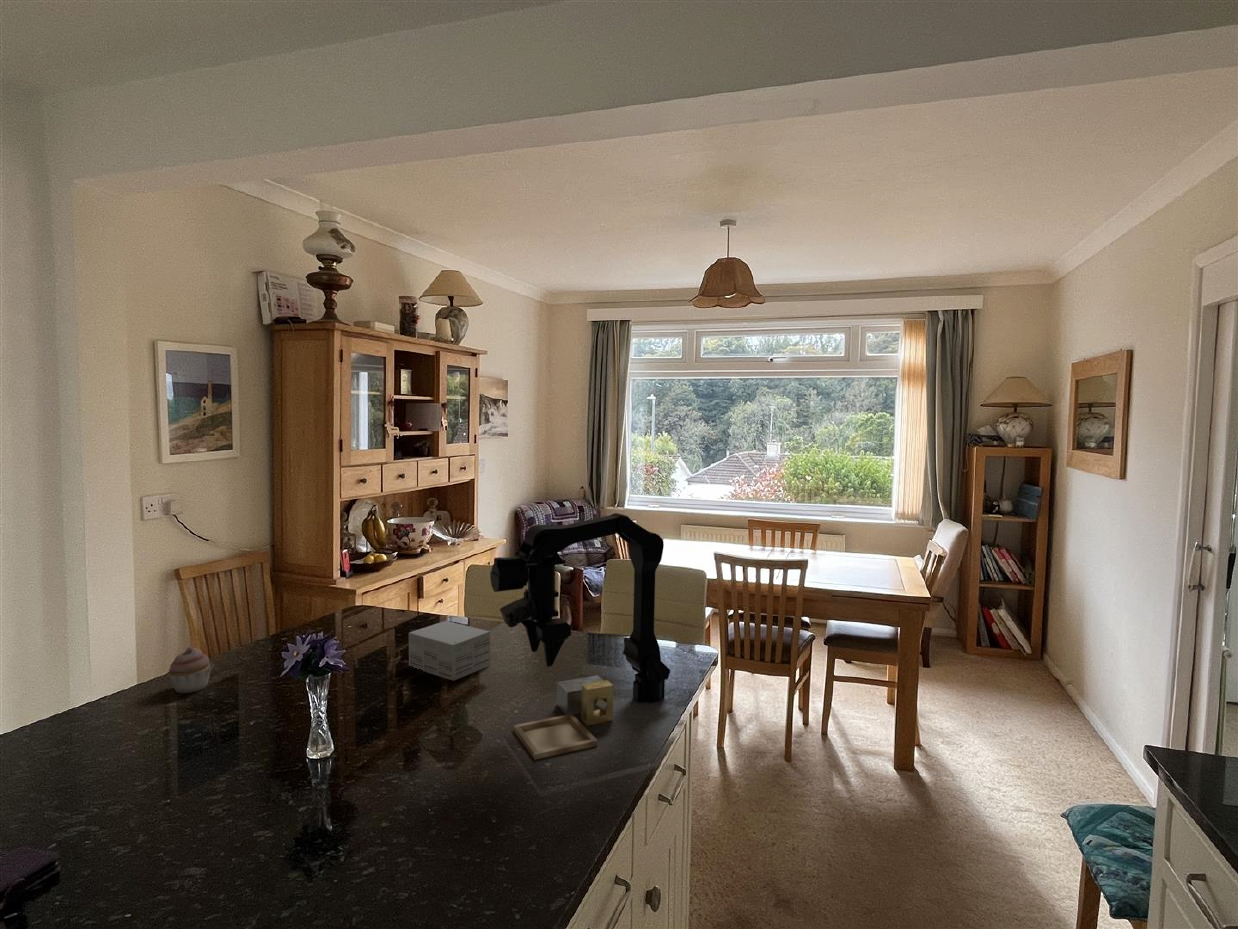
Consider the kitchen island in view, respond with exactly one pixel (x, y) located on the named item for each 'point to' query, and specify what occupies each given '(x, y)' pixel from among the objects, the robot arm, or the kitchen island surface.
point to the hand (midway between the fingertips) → (541, 658)
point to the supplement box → (449, 649)
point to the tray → (554, 736)
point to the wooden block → (594, 693)
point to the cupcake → (190, 671)
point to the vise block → (576, 695)
